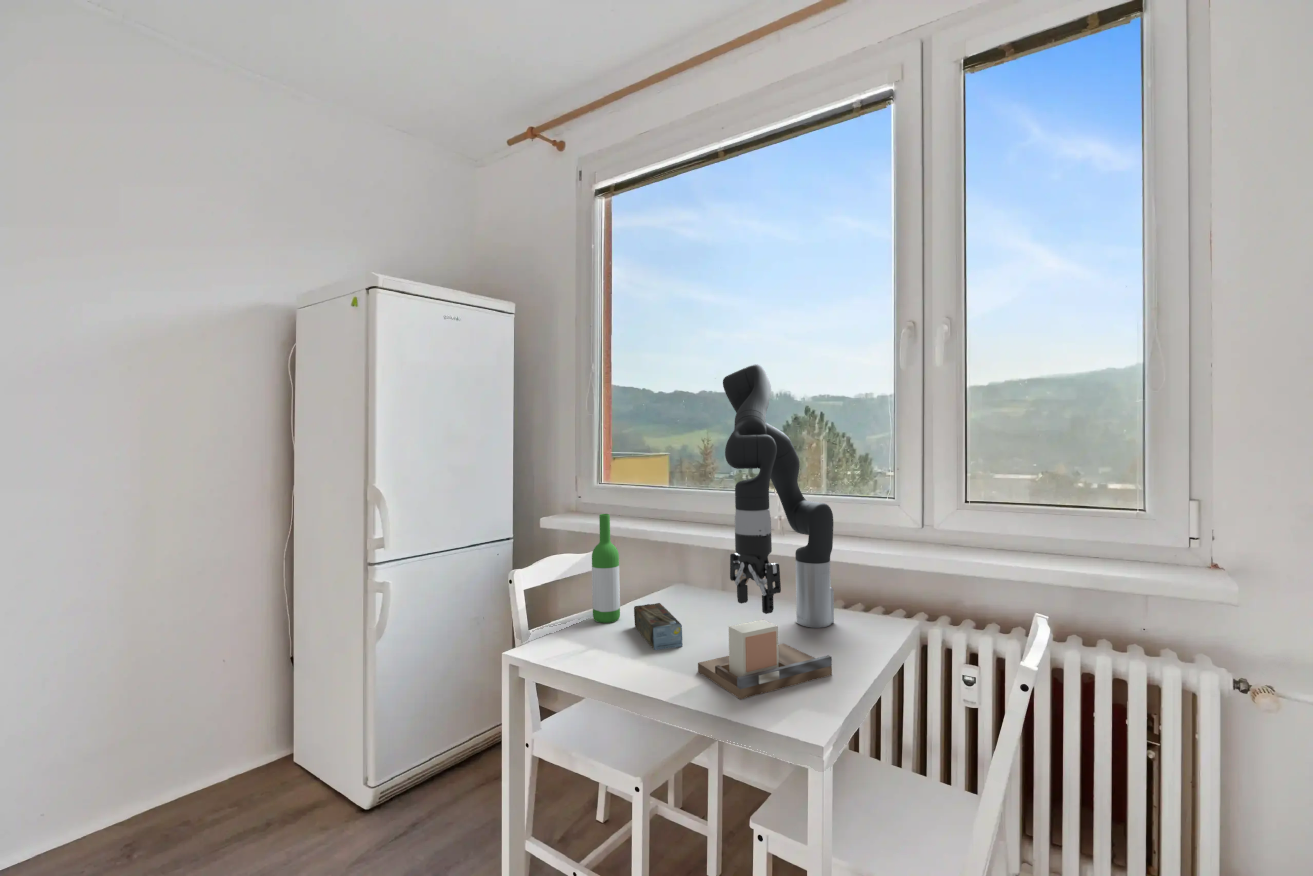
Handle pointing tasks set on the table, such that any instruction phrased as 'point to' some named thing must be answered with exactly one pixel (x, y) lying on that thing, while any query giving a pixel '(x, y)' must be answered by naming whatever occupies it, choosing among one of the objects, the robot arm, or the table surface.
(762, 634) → the tea box
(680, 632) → the beverage carton
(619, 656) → the table surface
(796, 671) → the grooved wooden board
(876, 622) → the table surface
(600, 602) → the wine bottle
